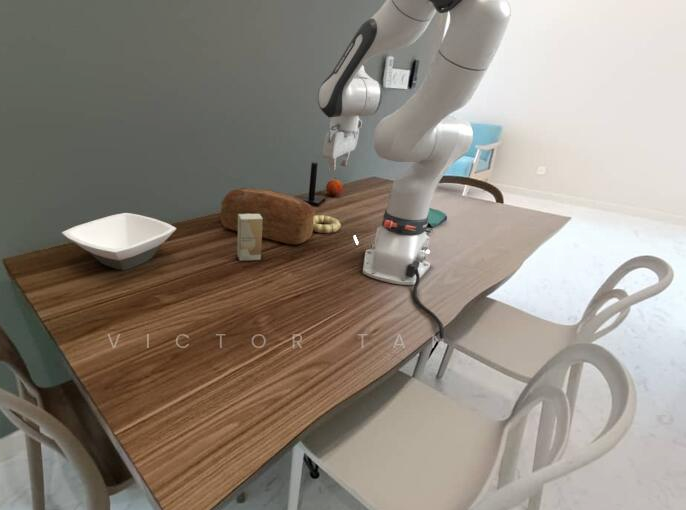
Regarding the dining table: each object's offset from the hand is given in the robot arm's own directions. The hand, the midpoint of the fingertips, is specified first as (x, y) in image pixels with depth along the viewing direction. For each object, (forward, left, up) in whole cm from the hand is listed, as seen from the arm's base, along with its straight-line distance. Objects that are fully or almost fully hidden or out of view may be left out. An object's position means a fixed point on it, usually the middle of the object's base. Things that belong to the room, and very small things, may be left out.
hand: (337, 168), depth 130 cm
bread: (-22, +15, -19) cm, 33 cm away
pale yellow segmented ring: (-7, +1, -18) cm, 19 cm away
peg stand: (+19, +15, -19) cm, 31 cm away
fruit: (+33, +10, -19) cm, 40 cm away
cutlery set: (+18, -27, -19) cm, 38 cm away
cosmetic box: (-41, +11, -19) cm, 46 cm away
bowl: (-59, +39, -19) cm, 73 cm away
